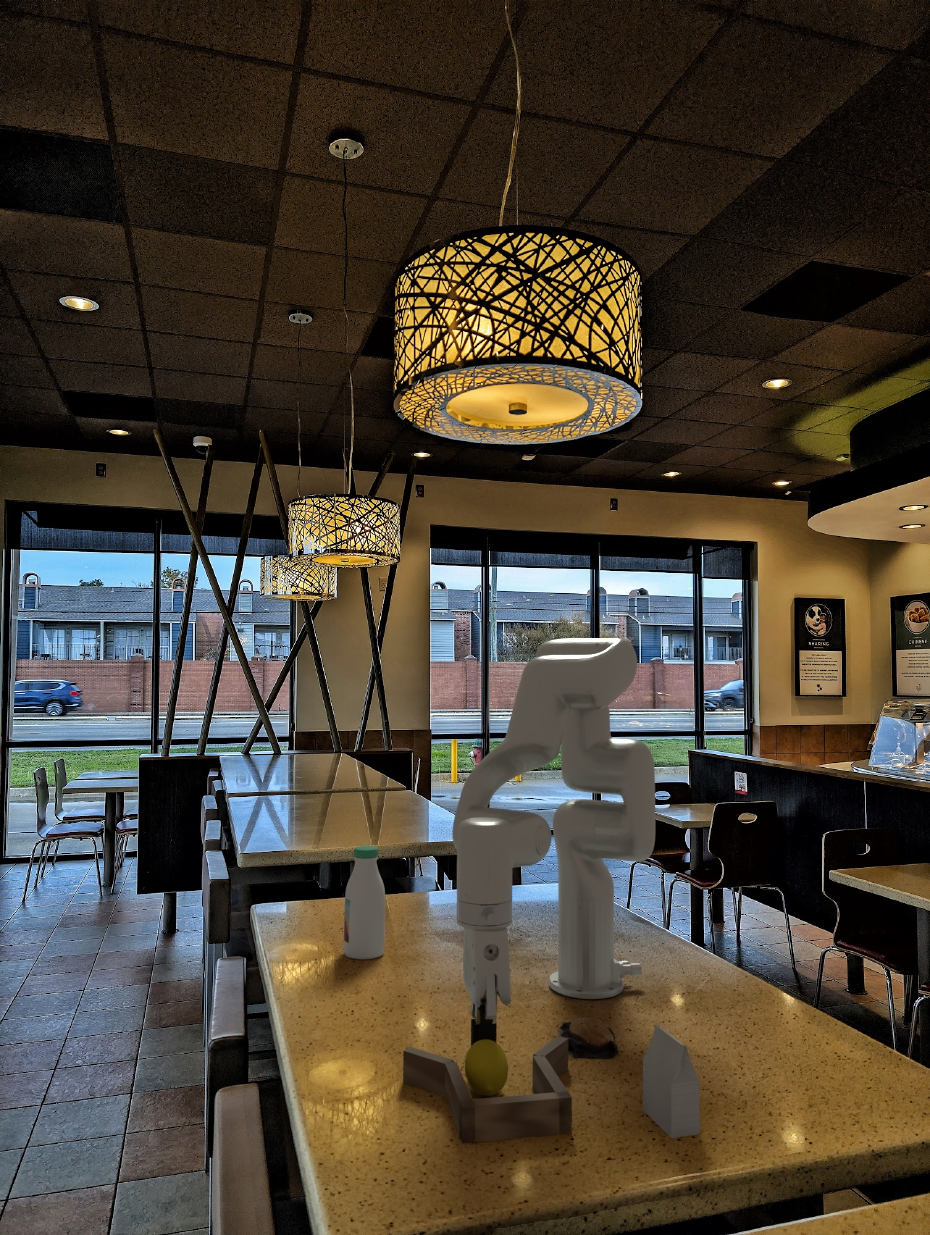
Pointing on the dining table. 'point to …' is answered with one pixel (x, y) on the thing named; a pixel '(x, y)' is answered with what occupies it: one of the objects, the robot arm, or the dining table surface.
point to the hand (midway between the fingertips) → (483, 1050)
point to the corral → (498, 1114)
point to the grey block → (670, 1086)
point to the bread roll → (589, 1039)
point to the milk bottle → (364, 907)
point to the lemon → (486, 1067)
